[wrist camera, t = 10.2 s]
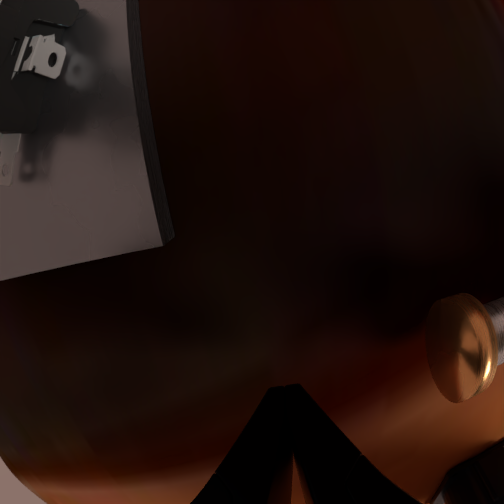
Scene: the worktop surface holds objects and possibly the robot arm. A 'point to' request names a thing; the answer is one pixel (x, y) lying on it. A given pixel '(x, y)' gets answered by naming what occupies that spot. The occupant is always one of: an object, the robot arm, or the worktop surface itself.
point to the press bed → (88, 154)
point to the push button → (27, 66)
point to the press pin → (464, 344)
